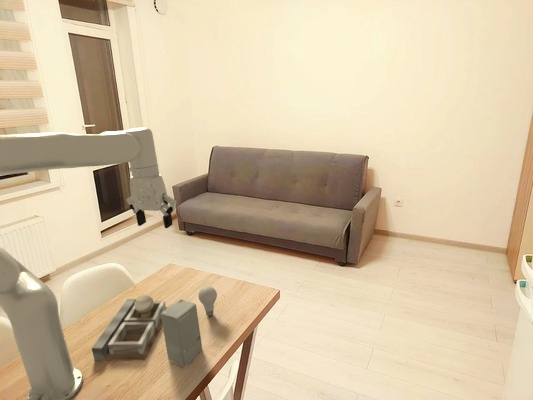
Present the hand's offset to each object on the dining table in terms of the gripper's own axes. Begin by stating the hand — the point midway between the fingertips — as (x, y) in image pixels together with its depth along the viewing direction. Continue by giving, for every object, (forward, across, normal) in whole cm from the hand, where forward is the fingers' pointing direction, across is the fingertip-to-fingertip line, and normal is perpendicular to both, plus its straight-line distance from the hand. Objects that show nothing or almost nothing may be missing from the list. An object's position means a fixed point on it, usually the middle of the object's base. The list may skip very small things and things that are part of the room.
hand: (155, 225), depth 104 cm
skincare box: (+35, +13, -13) cm, 39 cm away
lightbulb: (+35, +12, +5) cm, 37 cm away
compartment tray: (+34, -7, -9) cm, 36 cm away
